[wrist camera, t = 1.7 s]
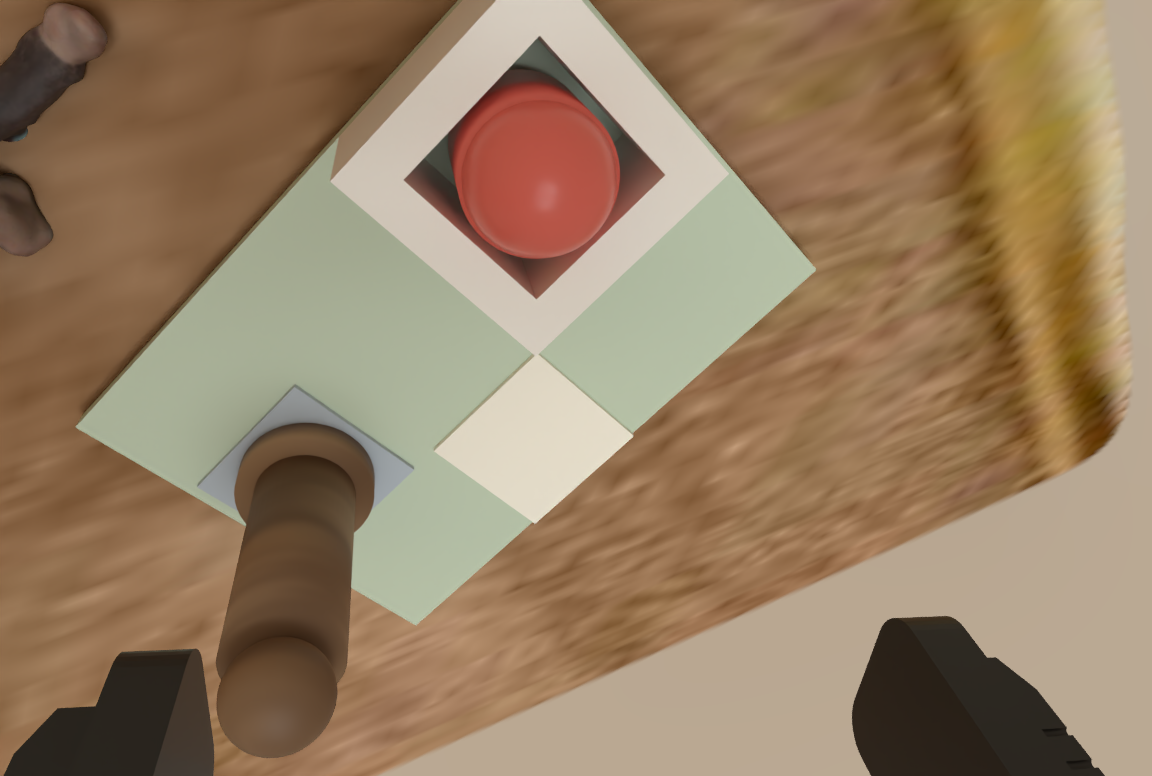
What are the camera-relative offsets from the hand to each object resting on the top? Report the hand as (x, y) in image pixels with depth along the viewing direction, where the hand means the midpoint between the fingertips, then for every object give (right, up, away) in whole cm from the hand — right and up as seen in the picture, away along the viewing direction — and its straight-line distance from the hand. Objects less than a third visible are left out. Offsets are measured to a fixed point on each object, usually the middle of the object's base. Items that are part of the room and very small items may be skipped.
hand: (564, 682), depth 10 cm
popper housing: (-2, +11, +16) cm, 19 cm away
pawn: (-9, 0, +19) cm, 21 cm away
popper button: (-1, +10, +14) cm, 17 cm away
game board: (-4, +5, +18) cm, 20 cm away
